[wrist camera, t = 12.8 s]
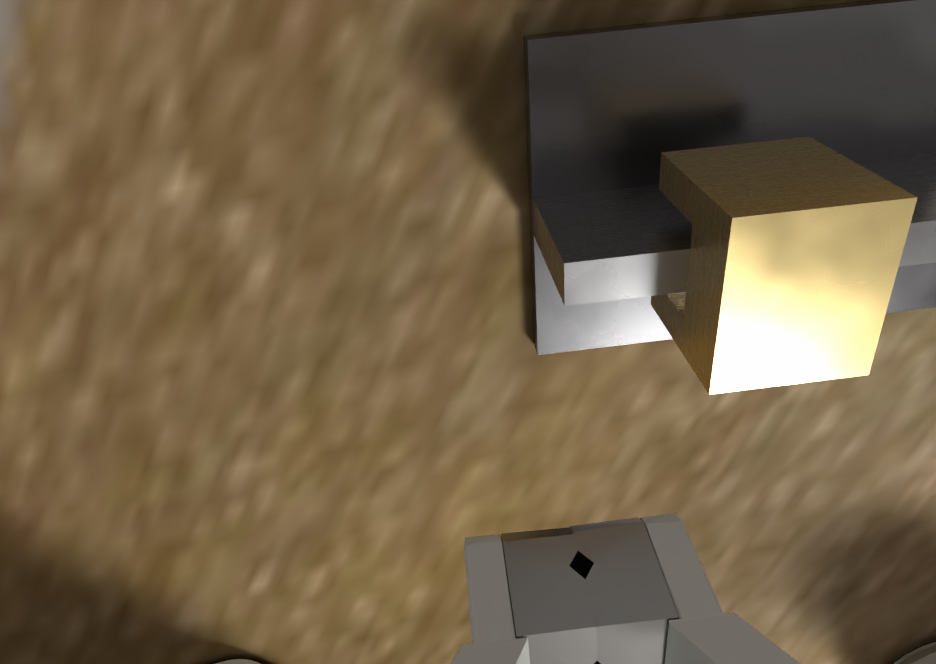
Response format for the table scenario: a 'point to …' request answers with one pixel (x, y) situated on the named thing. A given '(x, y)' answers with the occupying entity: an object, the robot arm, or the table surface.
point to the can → (920, 655)
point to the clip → (781, 262)
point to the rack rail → (709, 144)
